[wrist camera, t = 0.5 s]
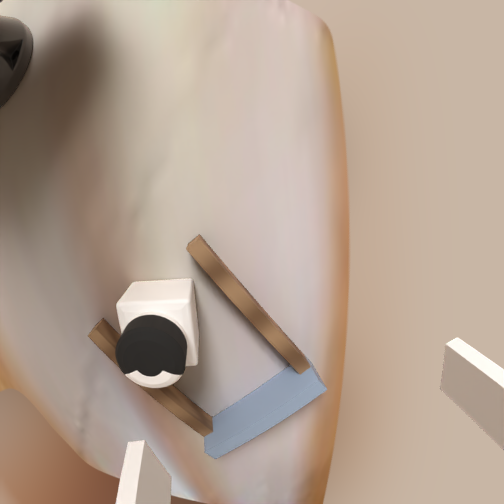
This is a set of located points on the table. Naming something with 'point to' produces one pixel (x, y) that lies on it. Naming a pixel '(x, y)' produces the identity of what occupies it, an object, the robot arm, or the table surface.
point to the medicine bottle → (157, 331)
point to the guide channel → (245, 303)
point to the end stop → (262, 409)
